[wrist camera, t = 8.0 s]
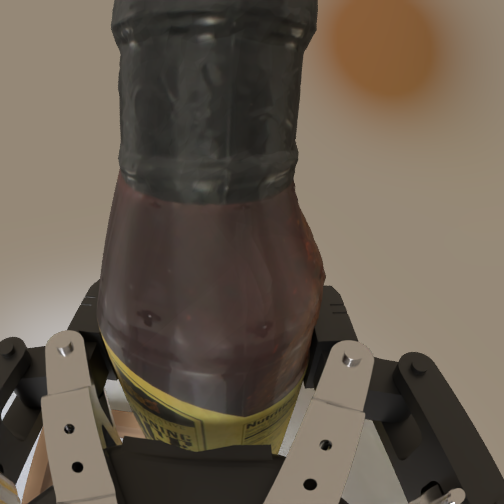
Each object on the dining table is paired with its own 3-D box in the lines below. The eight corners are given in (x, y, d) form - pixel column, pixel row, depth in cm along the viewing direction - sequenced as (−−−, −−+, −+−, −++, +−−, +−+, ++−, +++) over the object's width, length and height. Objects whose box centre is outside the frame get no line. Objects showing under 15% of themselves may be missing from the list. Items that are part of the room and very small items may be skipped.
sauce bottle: (148, 430, 16) (66, 18, 6) (242, 399, 19) (258, 16, 9) (190, 526, 11) (43, -88, 1) (298, 481, 14) (426, -10, 4)
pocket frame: (33, 529, 13) (17, 522, 11) (62, 412, 24) (52, 398, 22) (176, 566, 13) (170, 565, 12) (183, 430, 24) (179, 416, 23)
